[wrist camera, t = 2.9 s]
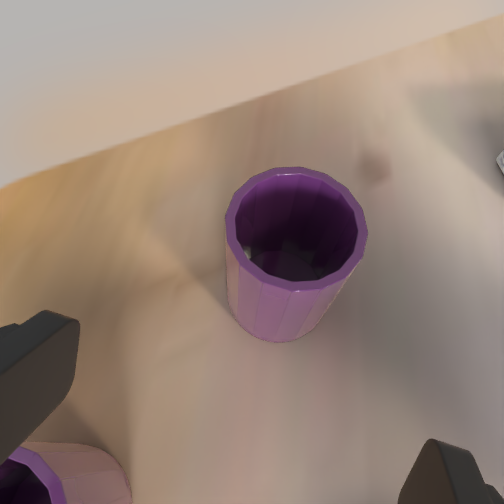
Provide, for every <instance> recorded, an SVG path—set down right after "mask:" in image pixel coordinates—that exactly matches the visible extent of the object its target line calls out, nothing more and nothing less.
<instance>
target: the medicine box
mask: <svg viewBox="0 0 504 504" xmlns="http://www.w3.org/2000/svg"><path fill="white" fill-rule="evenodd" d="M496 161H497V163H498V165H499V167H500V168H501V170H502V172H503V174H504V150H503V151H502V152H501V153H500V154H499V156H498V157H497V158H496Z"/></svg>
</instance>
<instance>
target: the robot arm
mask: <svg viewBox="0 0 504 504" xmlns="http://www.w3.org/2000/svg"><path fill="white" fill-rule="evenodd" d="M79 334H80V323H79V321H78V320H76V319H73V318H70V317H67V316H64V315H61V314H58V313H55V312H52V311H49V310H44V311H41V312H39V313H38V314H36V315H35V316H33V317H32V318H30V319H29V320H27V321H26V322H24V323H23V324H21V325H18V324H15V323H14V324H11V325H7V326H4V327H1V328H0V466H1V465H2V463H3V462H4V461H5V460H6V459H7V458H8V457H9V456H10V455H11V454H12V453H13V452H14V451H15V450H16V449H17V448H18V447H19V446H20V445H21V444H22V443H23V442H24V441H25V440H26V439H27V438H28V436H29V435H30V434H31V433H32V432H33V431H34V430H35V429H36V428H37V427H38V426H39V425H40V424H41V423H42V422H43V421H44V420H45V419H46V418H47V417H48V416H49V415H50V414H51V413H52V412H53V410H54V409H55V408H56V407H57V406H58V405H59V404H60V403H61V402H62V401H63V399H64V398H65V397H66V395H67V393H68V392H69V390H70V387H71V385H72V382H73V379H74V375H75V367H76V359H77V351H78V343H79ZM398 504H504V499H503V498H502V497H501V495H500V494H499V493H498V492H497V490H496V489H495V488H494V487H493V486H491V485H488V484H485V482H484V480H483V478H482V476H481V473H480V471H479V469H478V466H477V464H476V462H475V459H474V457H473V455H472V454H471V452H469V451H468V450H465V449H462V448H459V447H456V446H453V445H450V444H447V443H444V442H441V441H438V440H435V439H429V440H427V441H426V443H425V444H424V446H423V448H422V450H421V452H420V454H419V456H418V458H417V459H416V461H415V463H414V465H413V467H412V469H411V471H410V473H409V475H408V477H407V479H406V481H405V483H404V485H403V487H402V489H401V492H400V495H399V499H398Z"/></svg>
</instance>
